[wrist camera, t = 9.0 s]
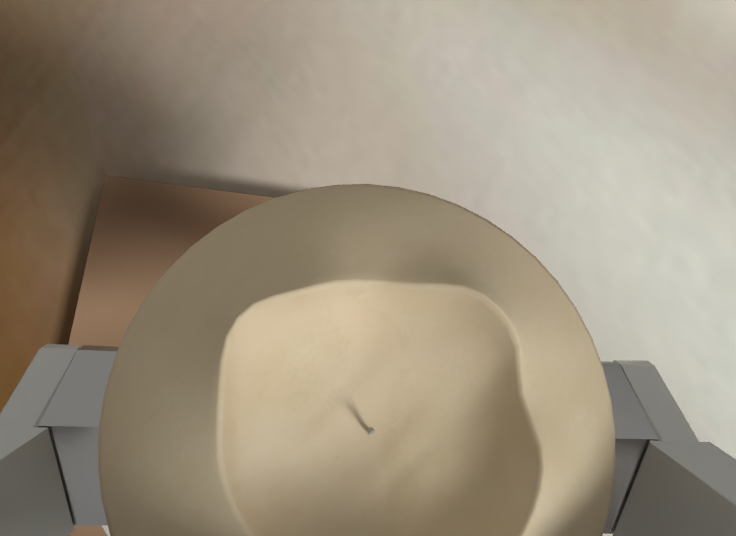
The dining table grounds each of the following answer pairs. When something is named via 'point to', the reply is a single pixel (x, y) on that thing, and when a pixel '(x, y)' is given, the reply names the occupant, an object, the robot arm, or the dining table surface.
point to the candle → (357, 382)
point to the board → (140, 254)
